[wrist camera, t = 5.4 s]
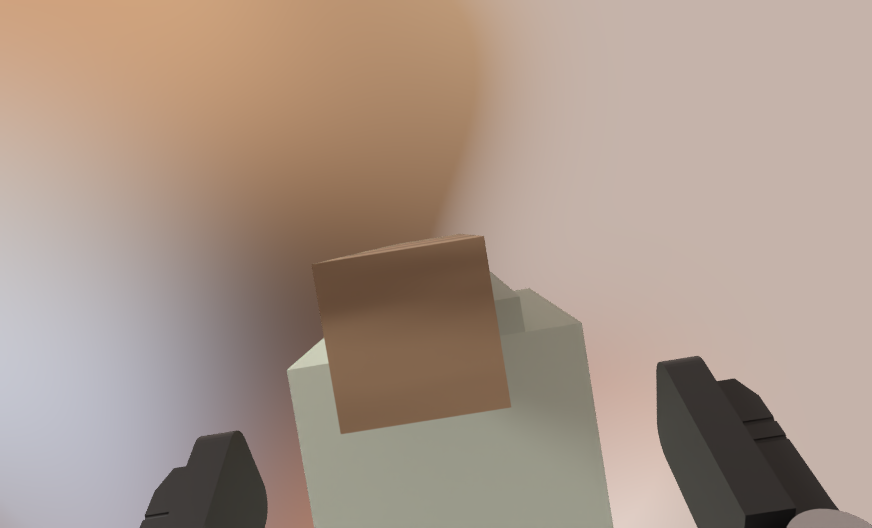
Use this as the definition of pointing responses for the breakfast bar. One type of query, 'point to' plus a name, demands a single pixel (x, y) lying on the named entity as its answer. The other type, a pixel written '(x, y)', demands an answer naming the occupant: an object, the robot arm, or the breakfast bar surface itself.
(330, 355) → the bar
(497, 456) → the post
